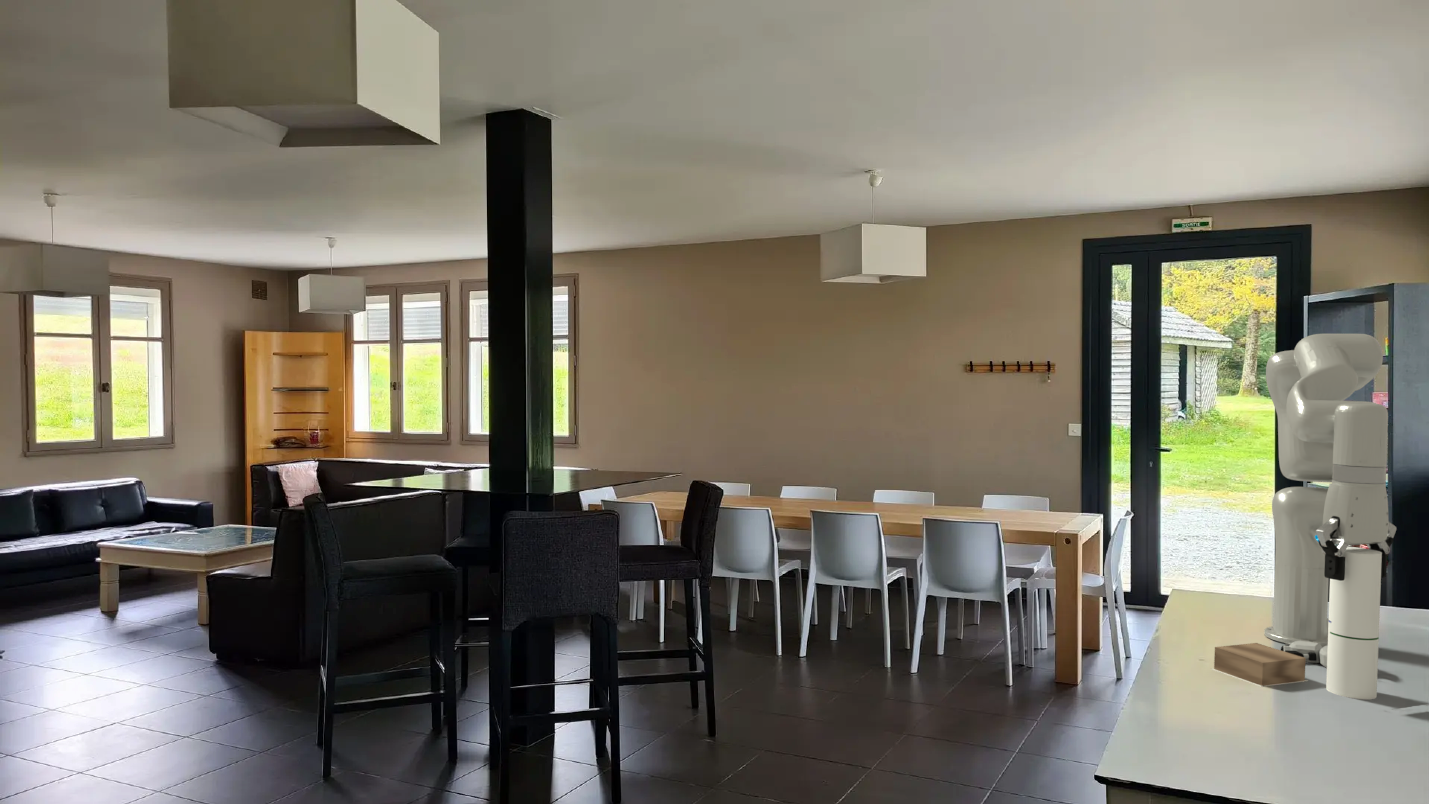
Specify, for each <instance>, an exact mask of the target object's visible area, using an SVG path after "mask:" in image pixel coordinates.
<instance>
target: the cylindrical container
mask: <svg viewBox="0 0 1429 804" xmlns="http://www.w3.org/2000/svg"><path fill="white" fill-rule="evenodd" d="M1342 556H1343V557H1345V579H1344V580H1343V581H1339V580H1334V579H1330V578H1329V593H1328V619H1329V623H1328V651H1327V668H1326V681H1325V682H1326V684H1325V689H1326V691H1328V692H1329V693H1332V694H1334V695H1337V696H1340V697H1344V698H1349V699H1356V700H1372V699H1373V700H1375V699H1377V695H1378V692H1377V691H1378V669H1379V668H1378V665H1379V641H1380V639H1379V636H1380V617H1381V616H1380V615H1381V614H1380V613H1381V585H1382V583H1381V582H1382V580H1381V579H1382V578H1381V561H1382V552H1380V551H1376V550H1371V549H1369V548H1363V547H1353V546H1348V547H1347V548H1346V550H1345V551H1344V553H1343V555H1342Z"/></svg>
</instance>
